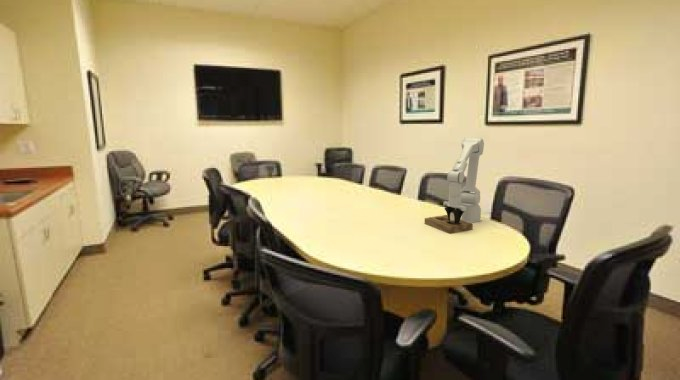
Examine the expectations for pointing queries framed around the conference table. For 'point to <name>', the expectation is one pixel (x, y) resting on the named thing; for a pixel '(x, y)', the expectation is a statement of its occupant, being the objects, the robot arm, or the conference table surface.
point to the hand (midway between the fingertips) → (453, 222)
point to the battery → (452, 218)
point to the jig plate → (448, 224)
